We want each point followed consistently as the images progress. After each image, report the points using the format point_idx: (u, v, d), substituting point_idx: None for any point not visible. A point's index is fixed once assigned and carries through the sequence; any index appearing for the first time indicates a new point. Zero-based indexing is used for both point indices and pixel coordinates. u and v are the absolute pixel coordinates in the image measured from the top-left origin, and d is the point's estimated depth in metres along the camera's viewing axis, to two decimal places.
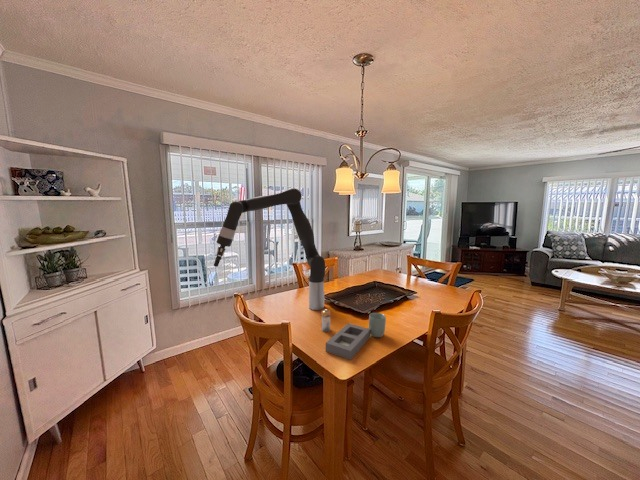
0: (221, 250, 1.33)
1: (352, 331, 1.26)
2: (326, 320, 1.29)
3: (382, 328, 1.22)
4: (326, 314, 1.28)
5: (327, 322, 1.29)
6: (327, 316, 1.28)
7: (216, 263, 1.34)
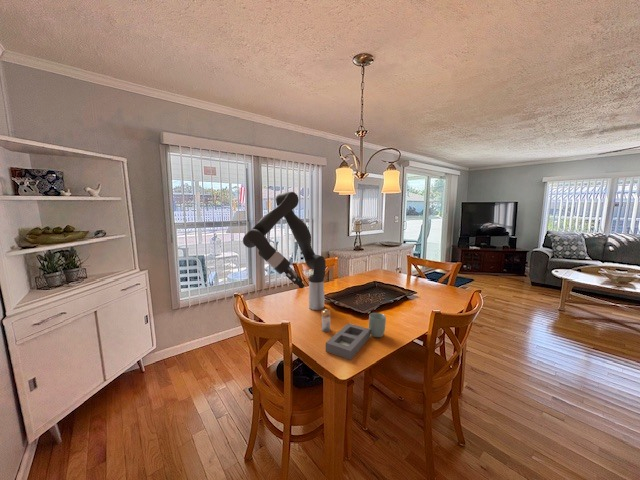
0: (289, 275, 1.18)
1: (352, 331, 1.26)
2: (326, 320, 1.29)
3: (382, 328, 1.22)
4: (326, 314, 1.28)
5: (327, 322, 1.29)
6: (327, 316, 1.28)
7: (300, 285, 1.21)
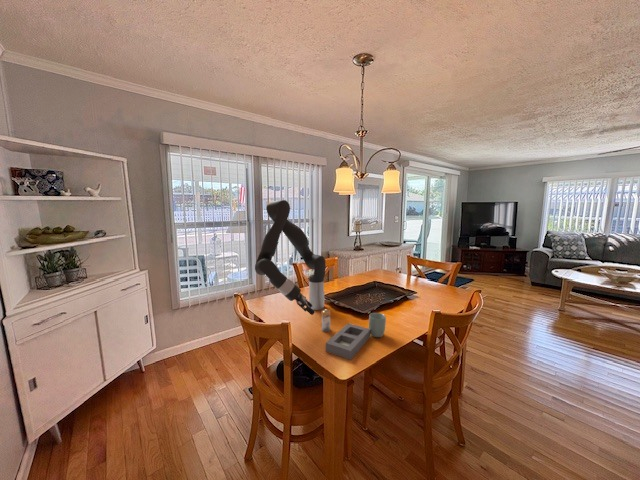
0: (300, 303, 1.20)
1: (352, 331, 1.26)
2: (326, 320, 1.29)
3: (382, 328, 1.22)
4: (326, 314, 1.28)
5: (327, 322, 1.29)
6: (327, 316, 1.28)
7: (311, 312, 1.23)
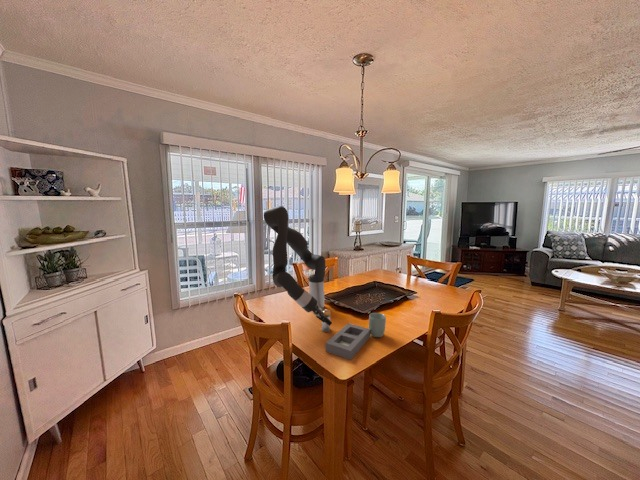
0: (319, 316, 1.23)
1: (352, 331, 1.26)
2: None
3: (382, 328, 1.22)
4: (326, 314, 1.28)
5: None
6: (327, 316, 1.28)
7: (328, 322, 1.28)
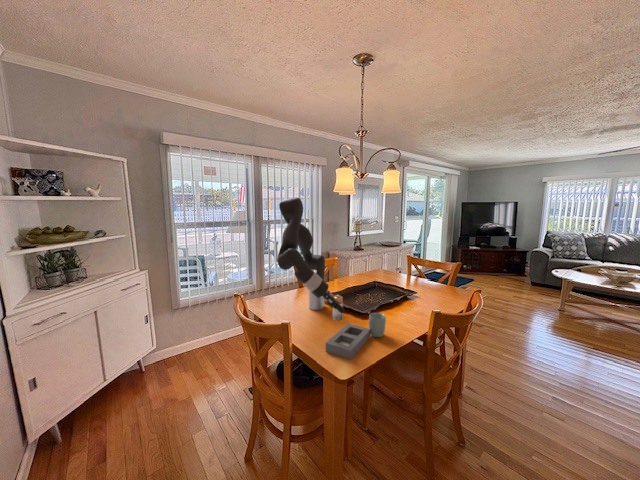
0: (331, 301, 1.08)
1: (352, 331, 1.26)
2: None
3: (382, 328, 1.22)
4: (338, 300, 1.13)
5: None
6: (339, 302, 1.13)
7: (341, 310, 1.12)
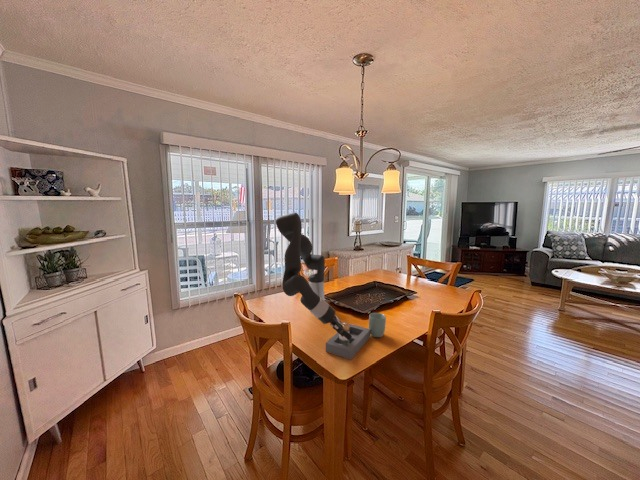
0: (337, 327, 1.05)
1: (352, 331, 1.26)
2: None
3: (382, 328, 1.22)
4: (345, 329, 1.10)
5: (346, 338, 1.11)
6: None
7: (348, 336, 1.08)
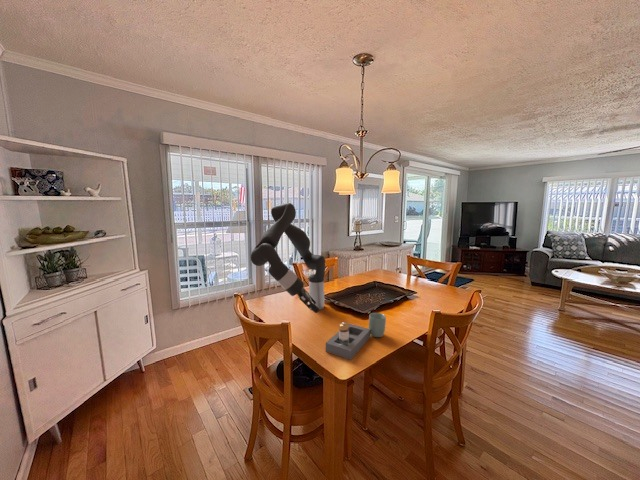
0: (303, 298, 1.03)
1: (352, 331, 1.26)
2: (344, 335, 1.11)
3: (382, 328, 1.22)
4: (344, 328, 1.11)
5: (346, 337, 1.11)
6: (346, 330, 1.11)
7: (315, 309, 1.06)
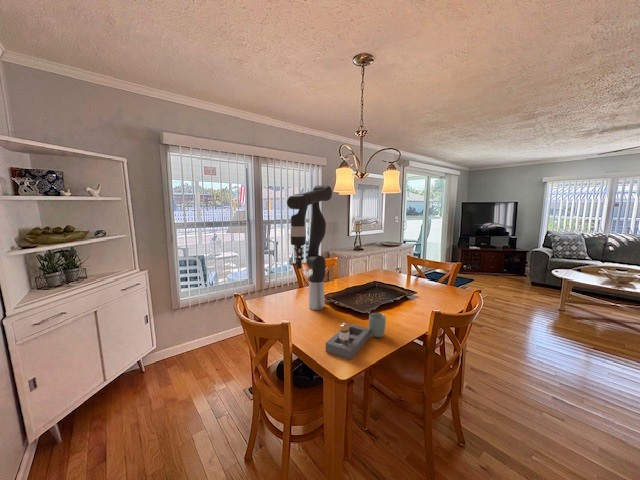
0: (299, 250, 1.23)
1: (352, 331, 1.26)
2: (345, 336, 1.11)
3: (382, 328, 1.22)
4: (345, 329, 1.10)
5: (346, 338, 1.11)
6: (346, 331, 1.10)
7: (299, 265, 1.26)
